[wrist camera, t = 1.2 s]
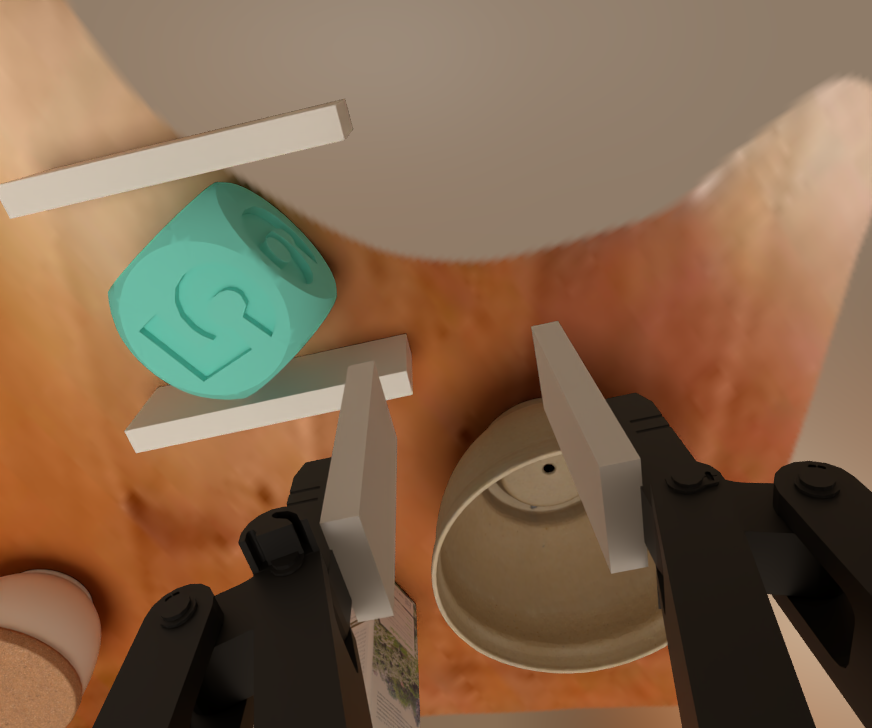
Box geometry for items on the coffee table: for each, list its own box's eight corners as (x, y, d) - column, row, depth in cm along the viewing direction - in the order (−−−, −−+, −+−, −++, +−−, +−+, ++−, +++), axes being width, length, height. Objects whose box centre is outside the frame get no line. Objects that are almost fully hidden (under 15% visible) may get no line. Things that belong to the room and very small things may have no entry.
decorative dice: (145, 266, 34) (78, 320, 27) (236, 167, 32) (188, 197, 25) (255, 357, 37) (220, 427, 30) (345, 272, 35) (330, 325, 28)
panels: (345, 98, 31) (335, 104, 26) (411, 355, 38) (412, 394, 33) (50, 169, 32) (-8, 186, 27) (167, 407, 38) (136, 453, 34)
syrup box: (315, 591, 46) (280, 797, 33) (378, 558, 45) (368, 758, 32) (358, 633, 48) (342, 841, 35) (420, 602, 47) (426, 806, 34)
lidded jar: (1, 651, 47) (-85, 777, 39) (-50, 548, 43) (-161, 667, 34) (139, 644, 48) (83, 767, 39) (104, 541, 43) (31, 656, 35)
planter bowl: (515, 303, 36) (556, 390, 27) (707, 420, 41) (802, 531, 31) (381, 487, 42) (374, 615, 32) (562, 572, 47) (604, 707, 37)
